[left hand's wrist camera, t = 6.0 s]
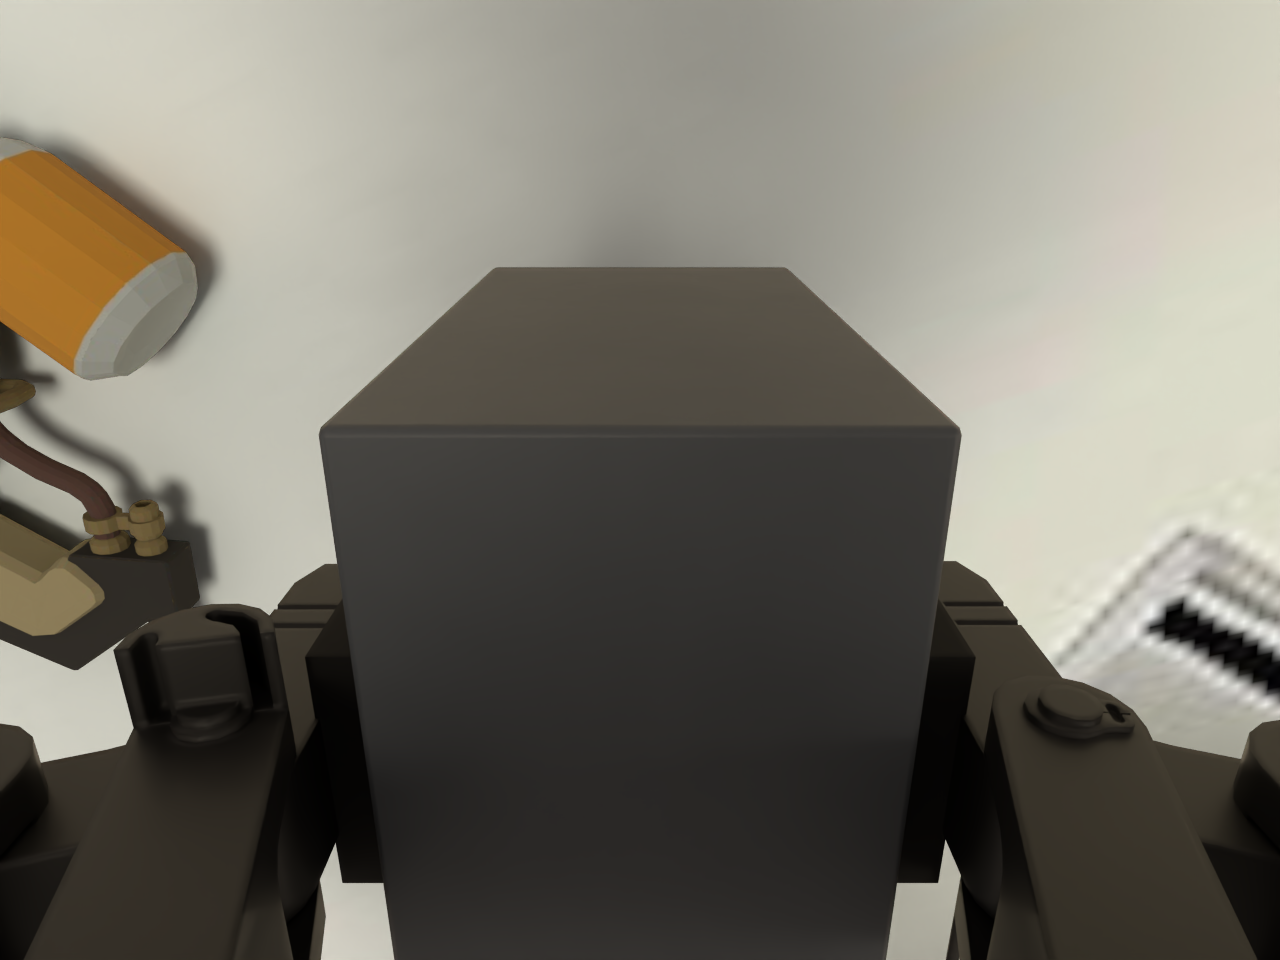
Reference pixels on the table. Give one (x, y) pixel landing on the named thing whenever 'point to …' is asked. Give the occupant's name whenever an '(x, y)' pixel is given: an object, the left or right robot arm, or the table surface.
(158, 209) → the table surface
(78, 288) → the spray gun
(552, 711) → the bar
